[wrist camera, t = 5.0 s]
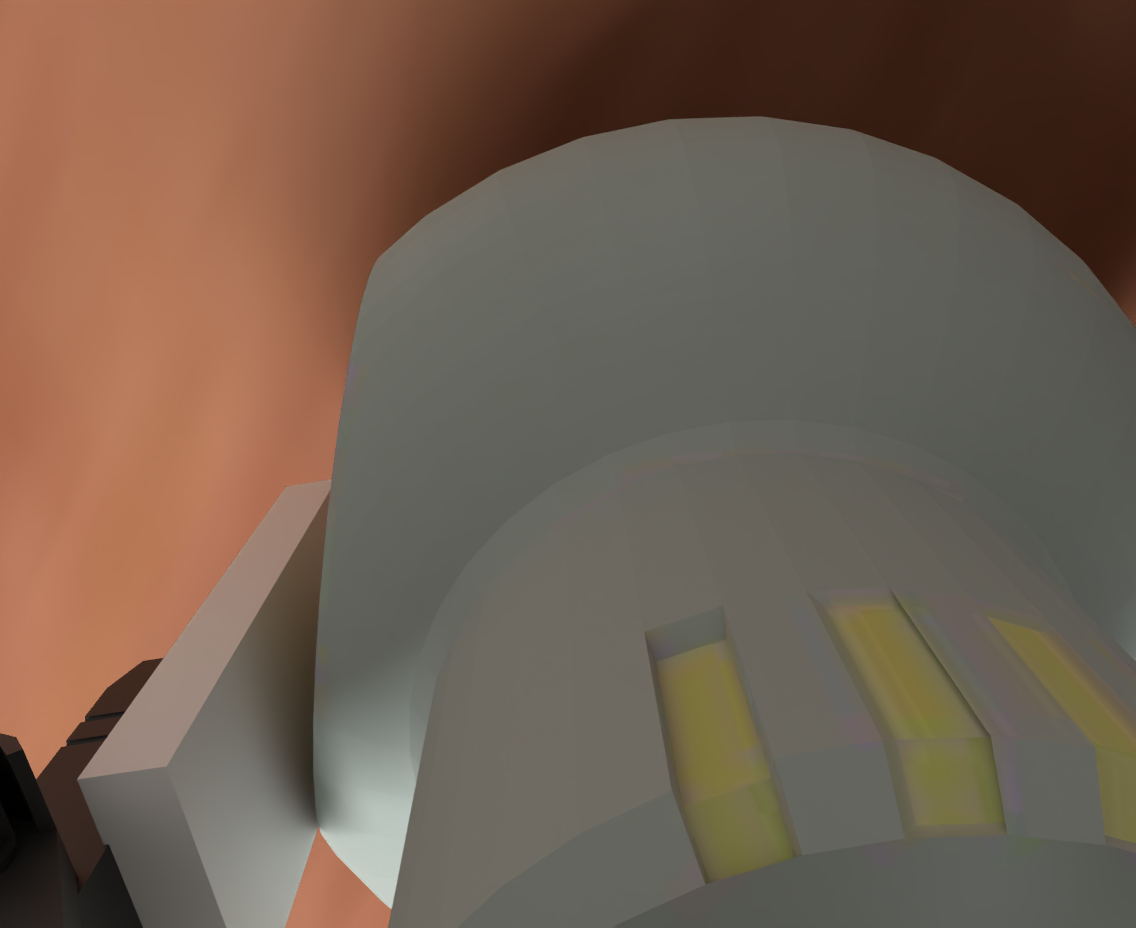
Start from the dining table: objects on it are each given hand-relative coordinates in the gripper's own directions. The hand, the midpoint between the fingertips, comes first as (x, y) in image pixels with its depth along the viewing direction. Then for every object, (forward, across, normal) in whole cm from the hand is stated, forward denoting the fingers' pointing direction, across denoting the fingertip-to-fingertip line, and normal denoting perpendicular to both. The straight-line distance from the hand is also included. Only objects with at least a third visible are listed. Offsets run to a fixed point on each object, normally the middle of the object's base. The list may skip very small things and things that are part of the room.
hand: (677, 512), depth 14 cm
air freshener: (+1, 0, 0) cm, 1 cm away
